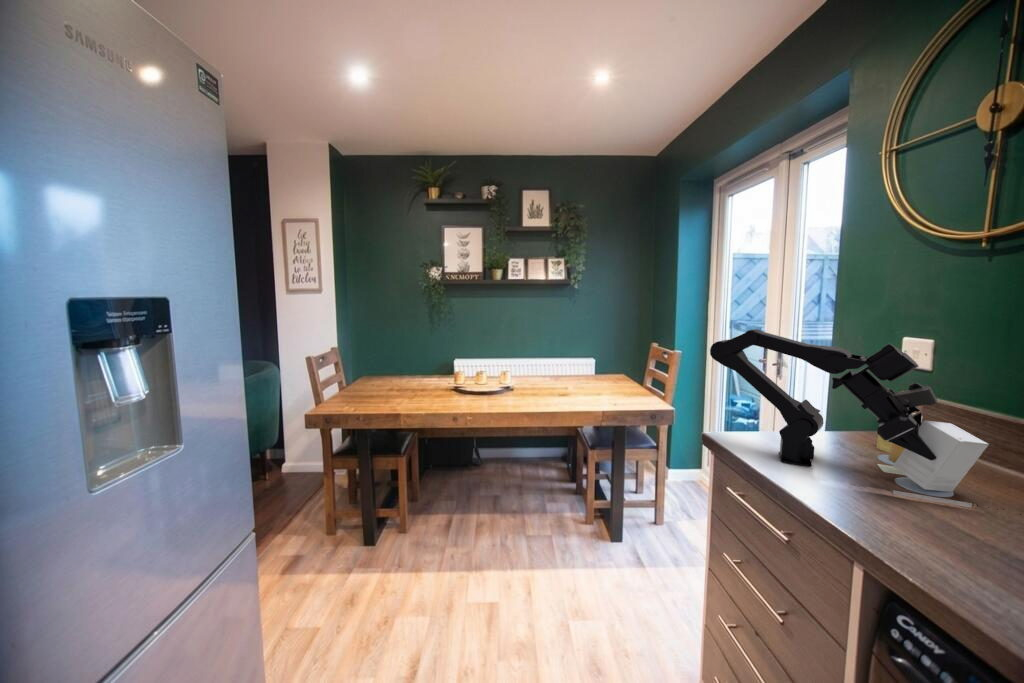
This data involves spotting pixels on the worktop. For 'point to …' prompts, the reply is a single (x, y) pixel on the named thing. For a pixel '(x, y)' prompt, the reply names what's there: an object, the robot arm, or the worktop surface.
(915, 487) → the white board
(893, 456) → the amber tube
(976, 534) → the worktop surface
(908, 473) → the supplement box
